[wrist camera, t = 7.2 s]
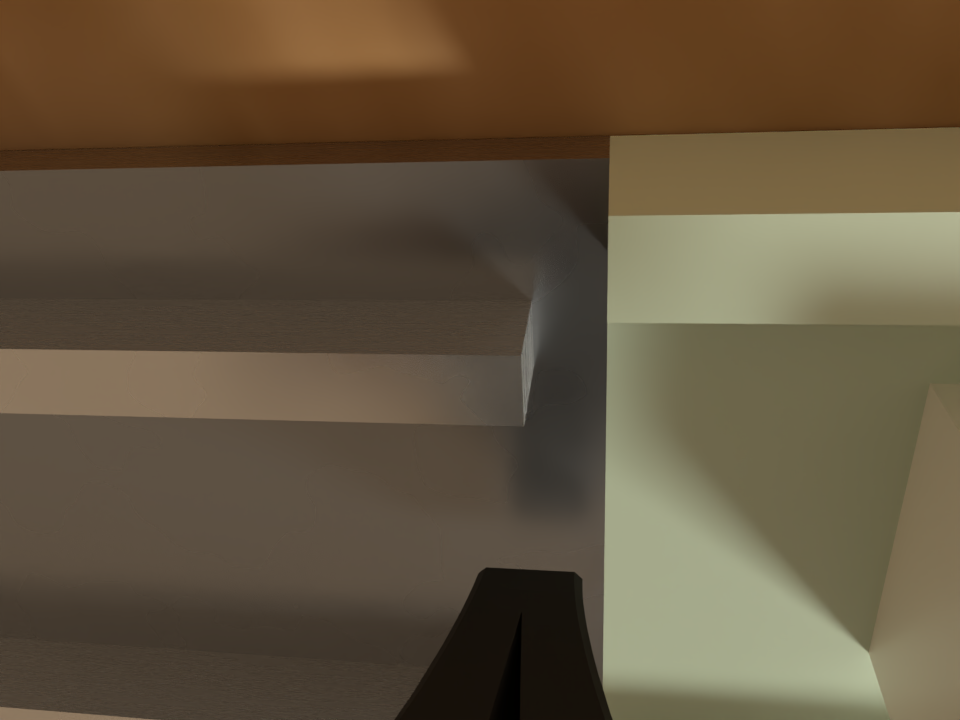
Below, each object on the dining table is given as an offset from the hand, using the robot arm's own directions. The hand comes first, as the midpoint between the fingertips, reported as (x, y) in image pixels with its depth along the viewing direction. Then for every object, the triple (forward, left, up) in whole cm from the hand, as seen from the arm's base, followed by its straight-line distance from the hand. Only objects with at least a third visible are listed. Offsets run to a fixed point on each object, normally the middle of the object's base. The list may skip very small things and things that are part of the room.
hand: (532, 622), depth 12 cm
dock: (0, +7, -3) cm, 7 cm away
